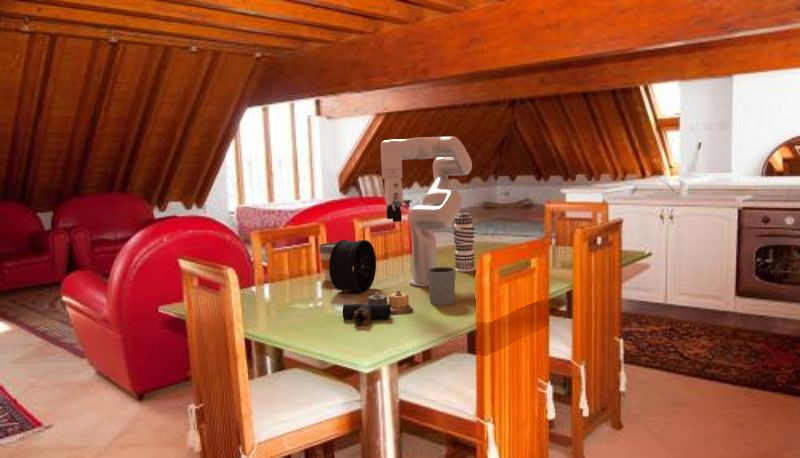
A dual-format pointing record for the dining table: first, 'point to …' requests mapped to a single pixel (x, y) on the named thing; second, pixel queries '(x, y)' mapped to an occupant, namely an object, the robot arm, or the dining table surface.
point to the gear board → (383, 300)
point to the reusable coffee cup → (326, 258)
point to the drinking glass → (441, 285)
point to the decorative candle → (464, 242)
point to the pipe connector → (366, 312)
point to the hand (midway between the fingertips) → (394, 220)
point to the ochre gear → (398, 300)
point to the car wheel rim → (352, 265)
